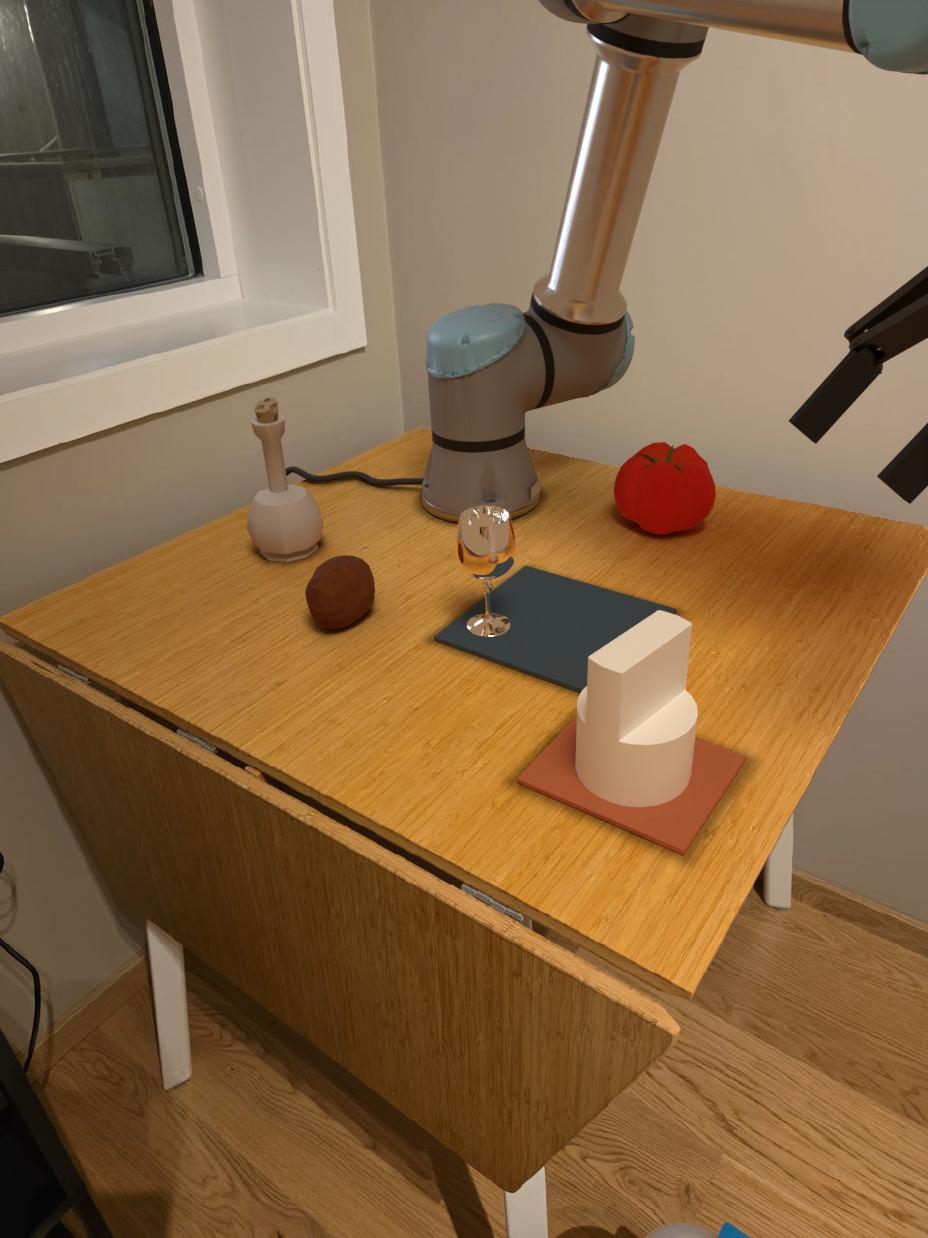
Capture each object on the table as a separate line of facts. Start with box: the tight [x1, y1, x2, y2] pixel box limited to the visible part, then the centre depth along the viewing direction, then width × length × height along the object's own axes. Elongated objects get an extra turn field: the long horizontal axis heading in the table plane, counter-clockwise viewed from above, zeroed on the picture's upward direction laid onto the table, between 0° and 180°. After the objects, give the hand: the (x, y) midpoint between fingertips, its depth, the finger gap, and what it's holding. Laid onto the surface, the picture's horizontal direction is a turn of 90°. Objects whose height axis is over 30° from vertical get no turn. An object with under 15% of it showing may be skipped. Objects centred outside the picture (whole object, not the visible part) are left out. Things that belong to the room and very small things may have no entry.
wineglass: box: [455, 505, 517, 637], centre depth 87 cm, size 6×6×12 cm
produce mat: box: [516, 715, 747, 856], centre depth 71 cm, size 14×12×1 cm
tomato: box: [613, 441, 717, 536], centre depth 106 cm, size 11×12×9 cm
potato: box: [304, 554, 376, 630], centre depth 92 cm, size 7×9×6 cm
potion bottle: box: [246, 396, 324, 563], centre depth 103 cm, size 9×9×18 cm
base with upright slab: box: [575, 610, 699, 807], centre depth 68 cm, size 9×9×12 cm
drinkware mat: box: [433, 565, 678, 694], centre depth 90 cm, size 18×17×1 cm
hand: (842, 459), depth 63 cm, fingers open, 13 cm apart
